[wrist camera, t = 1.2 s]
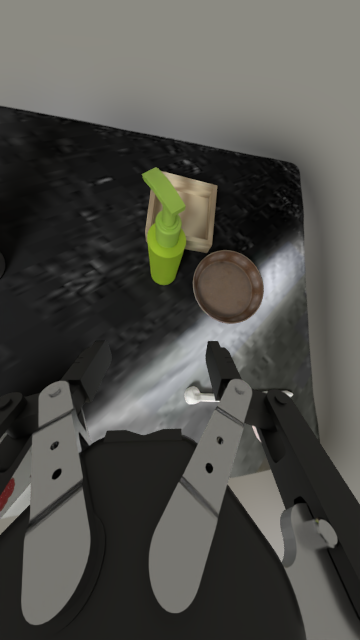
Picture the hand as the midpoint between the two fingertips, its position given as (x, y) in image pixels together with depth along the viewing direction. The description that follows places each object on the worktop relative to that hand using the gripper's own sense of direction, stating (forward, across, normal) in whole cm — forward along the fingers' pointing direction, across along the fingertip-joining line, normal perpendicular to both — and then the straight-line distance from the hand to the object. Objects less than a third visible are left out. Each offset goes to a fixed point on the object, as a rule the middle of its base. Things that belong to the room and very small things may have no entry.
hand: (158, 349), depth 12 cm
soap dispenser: (+27, +2, 0) cm, 27 cm away
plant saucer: (+27, -14, +4) cm, 30 cm away
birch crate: (+35, -3, -11) cm, 37 cm away
